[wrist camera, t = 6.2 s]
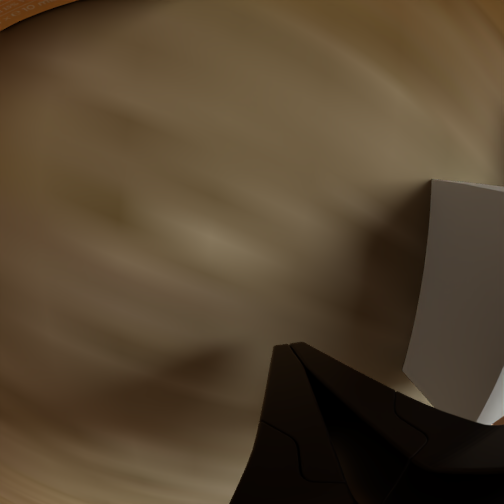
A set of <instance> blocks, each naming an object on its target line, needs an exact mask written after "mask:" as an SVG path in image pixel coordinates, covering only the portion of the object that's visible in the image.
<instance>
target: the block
mask: <svg viewBox="0 0 504 504" xmlns="http://www.w3.org/2000/svg"><path fill="white" fill-rule="evenodd" d="M402 371H403V372H404V373H405V374H406V376H407V377H408V378H409V379H410V380H411V381H412V382H413V383H414V385H415V386H416V387H417V388H418V389H419V390H420V391H421V392H422V394H423V395H424V396H425V397H426V398H427V399H428V400H429V402H430V403H431V404H432V405H433V406H434V407H435V408H436V409H439V410H442V411H444V412H447V413H450V414H453V415H456V416H459V417H462V418H465V419H468V420H471V421H474V422H478V423H481V424H485V425H491V424H493V423H494V422H496V421H497V420H499V419H500V418H501V417H503V416H504V187H503V186H495V185H487V184H478V183H469V182H459V181H448V180H436V179H432V183H431V205H430V219H429V230H428V240H427V249H426V257H425V265H424V272H423V278H422V284H421V290H420V296H419V301H418V306H417V311H416V316H415V321H414V326H413V330H412V334H411V339H410V343H409V347H408V351H407V355H406V358H405V362H404V366H403V369H402Z"/></svg>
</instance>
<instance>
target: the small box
mask: <svg viewBox="0 0 504 504" xmlns="http://www.w3.org/2000/svg"><path fill="white" fill-rule="evenodd" d="M74 1H77V0H0V31H1V30H3V29H5V28H7V27H9V26H11V25H12V24H14V23H16V22H19V21H21V20H23V19H26V18H28V17H30V16H33V15H35V14H38V13H40V12H43V11H46V10H49V9H52V8H55V7H58V6H61V5H64V4H67V3H70V2H74Z"/></svg>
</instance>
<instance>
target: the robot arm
mask: <svg viewBox="0 0 504 504" xmlns="http://www.w3.org/2000/svg"><path fill="white" fill-rule="evenodd" d="M229 504H504V425H485V424H481V423H478V422H474V421H471V420H468V419H465V418H462V417H459V416H456V415H453V414H450V413H447V412H444V411H442V410H439V409H436V408H434V407H431V406H428V405H426V404H423V403H421V402H419V401H417V400H414V399H412V398H410V397H408V396H406V395H404V394H402V393H400V392H398V391H397V392H395V390H393V389H391V388H389V387H387V386H385V385H383V384H382V383H380V382H378V381H376V380H374V379H372V378H370V377H368V376H366V375H364V374H362V373H360V372H358V371H356V370H354V369H352V368H351V367H349V366H347V365H345V364H343V363H341V362H339V361H337V360H336V359H334V358H332V357H330V356H328V355H326V354H325V353H323V352H321V351H319V350H317V349H315V348H314V347H312V346H310V345H308V344H306V343H304V342H297V343H291V344H289V345H288V344H283V345H275V346H274V347H273V352H272V358H271V363H270V369H269V374H268V380H267V385H266V390H265V396H264V401H263V406H262V411H261V416H260V423H259V425H258V430H257V435H256V439H255V443H254V446H253V450H252V453H251V455H250V458H249V461H248V463H247V466H246V468H245V470H244V473H243V475H242V477H241V479H240V482H239V484H238V486H237V488H236V490H235V493H234V495H233V497H232V499H231V501H230V503H229Z"/></svg>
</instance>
